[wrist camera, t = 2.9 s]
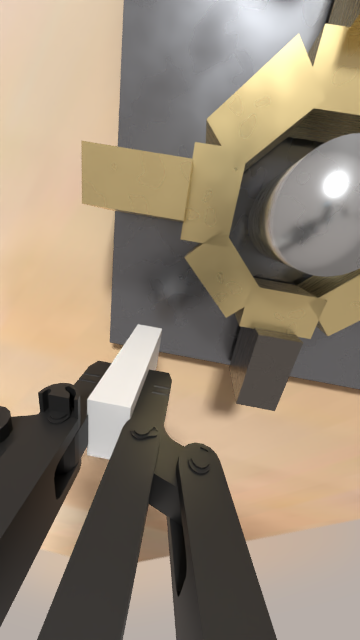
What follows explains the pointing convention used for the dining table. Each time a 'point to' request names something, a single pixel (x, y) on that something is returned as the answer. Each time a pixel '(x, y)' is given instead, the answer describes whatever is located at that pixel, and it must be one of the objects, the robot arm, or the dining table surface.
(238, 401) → the ring nut
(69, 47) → the dining table surface
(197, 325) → the flange plate
